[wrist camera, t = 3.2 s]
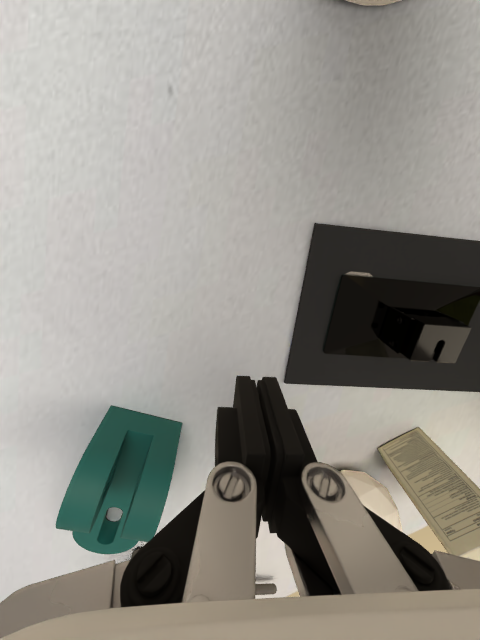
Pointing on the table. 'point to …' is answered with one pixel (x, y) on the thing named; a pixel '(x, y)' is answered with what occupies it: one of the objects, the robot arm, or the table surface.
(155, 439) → the bracket
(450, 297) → the build plate
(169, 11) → the table surface
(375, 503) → the geometric ball
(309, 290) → the desk mat
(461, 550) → the printed cream carton
